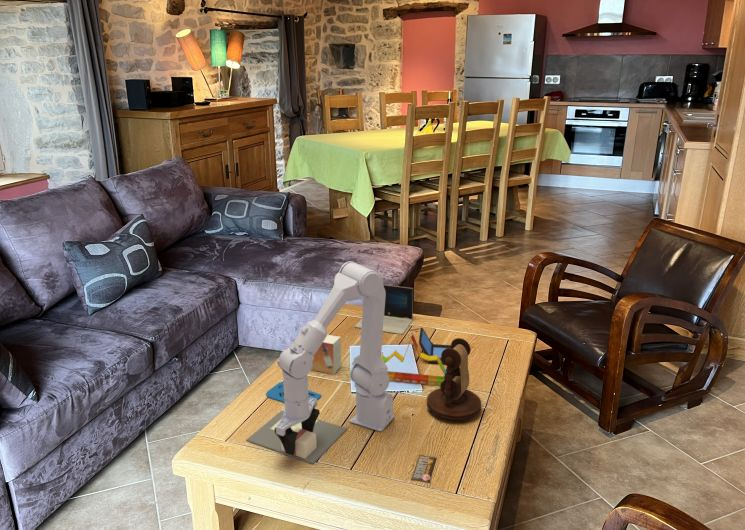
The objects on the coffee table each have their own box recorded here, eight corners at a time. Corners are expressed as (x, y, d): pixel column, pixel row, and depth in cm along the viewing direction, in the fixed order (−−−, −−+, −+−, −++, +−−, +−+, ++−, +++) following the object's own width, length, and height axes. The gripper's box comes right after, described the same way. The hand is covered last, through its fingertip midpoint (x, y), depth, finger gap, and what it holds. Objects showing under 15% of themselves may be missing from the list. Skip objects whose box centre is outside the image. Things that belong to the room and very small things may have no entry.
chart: (352, 378, 183) (351, 333, 178) (354, 373, 186) (353, 328, 181) (453, 388, 178) (455, 342, 173) (454, 383, 181) (456, 337, 176)
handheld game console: (452, 366, 190) (453, 344, 188) (417, 364, 192) (418, 342, 189) (452, 347, 202) (453, 327, 200) (420, 346, 203) (420, 325, 201)
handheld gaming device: (280, 380, 180) (322, 393, 173) (280, 384, 181) (322, 397, 174) (262, 393, 174) (305, 407, 167) (262, 397, 174) (305, 411, 167)
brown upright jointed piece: (469, 430, 158) (473, 361, 151) (417, 414, 164) (419, 348, 158) (488, 403, 170) (492, 338, 163) (439, 389, 177) (441, 327, 170)
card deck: (316, 447, 150) (316, 433, 149) (305, 459, 146) (304, 444, 145) (293, 439, 154) (292, 425, 152) (281, 450, 149) (280, 436, 148)
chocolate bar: (430, 487, 138) (430, 484, 138) (409, 483, 139) (409, 480, 139) (438, 457, 148) (438, 454, 148) (418, 454, 149) (418, 451, 149)
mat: (346, 429, 158) (346, 428, 158) (312, 464, 145) (312, 462, 145) (283, 409, 167) (283, 408, 167) (246, 441, 154) (246, 439, 154)
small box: (310, 370, 188) (309, 339, 184) (318, 362, 193) (317, 332, 189) (334, 375, 185) (333, 343, 181) (341, 366, 190) (341, 336, 186)
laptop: (354, 328, 217) (353, 294, 212) (366, 314, 228) (366, 282, 223) (402, 335, 211) (403, 300, 207) (412, 321, 222) (413, 288, 218)
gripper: (299, 378, 153) (302, 425, 157) (264, 407, 141) (267, 456, 145) (323, 385, 150) (325, 432, 154) (289, 415, 138) (292, 465, 142)
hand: (298, 444), depth 149 cm, fingers open, 7 cm apart
